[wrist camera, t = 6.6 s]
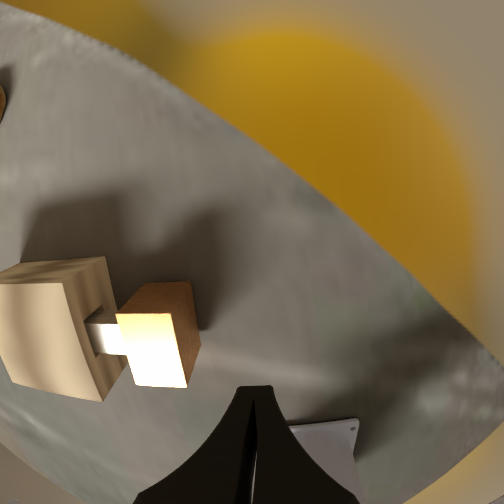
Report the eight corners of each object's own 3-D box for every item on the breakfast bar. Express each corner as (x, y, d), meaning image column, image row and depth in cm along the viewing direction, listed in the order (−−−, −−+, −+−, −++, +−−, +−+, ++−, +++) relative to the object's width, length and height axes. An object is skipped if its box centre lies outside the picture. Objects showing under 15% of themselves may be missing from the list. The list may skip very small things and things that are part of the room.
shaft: (190, 281, 18) (170, 313, 14) (201, 345, 19) (186, 387, 15) (11, 286, 19) (-24, 307, 15) (27, 335, 20) (-3, 361, 16)
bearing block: (105, 256, 19) (62, 282, 14) (130, 358, 21) (102, 401, 16) (19, 263, 19) (-24, 284, 14) (45, 350, 21) (12, 382, 16)
